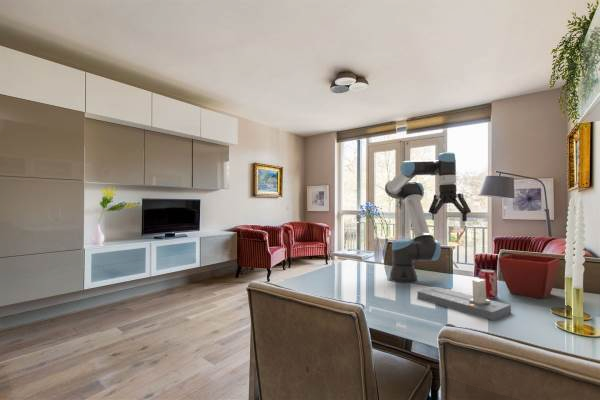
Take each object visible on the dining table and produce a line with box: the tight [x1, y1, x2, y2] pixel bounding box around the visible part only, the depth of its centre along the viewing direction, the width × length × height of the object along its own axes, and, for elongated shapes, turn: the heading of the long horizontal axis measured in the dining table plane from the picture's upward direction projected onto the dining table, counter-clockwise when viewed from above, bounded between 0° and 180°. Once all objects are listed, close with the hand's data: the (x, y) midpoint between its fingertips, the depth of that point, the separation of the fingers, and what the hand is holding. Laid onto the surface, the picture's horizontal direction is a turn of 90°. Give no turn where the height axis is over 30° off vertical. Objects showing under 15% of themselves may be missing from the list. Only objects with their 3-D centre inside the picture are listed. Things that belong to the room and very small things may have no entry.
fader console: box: [417, 286, 512, 321], centre depth 123 cm, size 14×32×3 cm, turn 31°
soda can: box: [478, 268, 498, 299], centre depth 133 cm, size 7×7×12 cm
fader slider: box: [469, 278, 491, 306], centre depth 116 cm, size 6×5×9 cm
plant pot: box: [497, 253, 560, 299], centre depth 137 cm, size 19×19×17 cm
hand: (449, 227), depth 141 cm, fingers open, 13 cm apart
